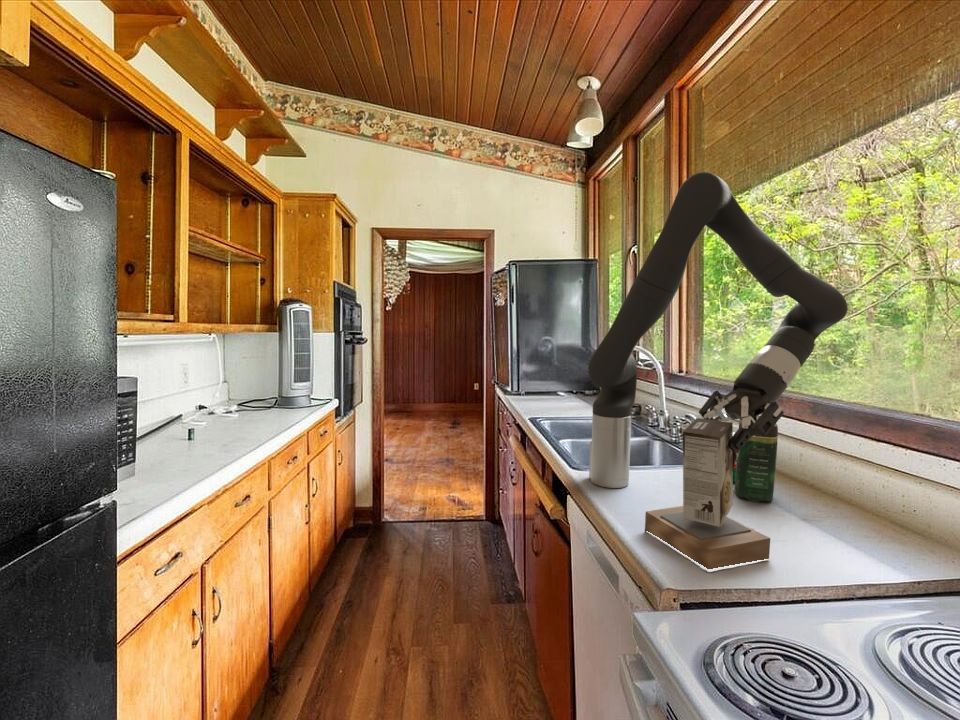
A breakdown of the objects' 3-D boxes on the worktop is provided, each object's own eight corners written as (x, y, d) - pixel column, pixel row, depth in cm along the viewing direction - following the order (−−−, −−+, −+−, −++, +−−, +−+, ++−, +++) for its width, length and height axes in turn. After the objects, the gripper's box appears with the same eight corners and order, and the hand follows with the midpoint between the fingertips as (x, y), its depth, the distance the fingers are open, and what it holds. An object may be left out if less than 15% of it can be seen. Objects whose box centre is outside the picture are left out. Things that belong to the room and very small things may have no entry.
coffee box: (696, 498, 93) (696, 417, 91) (733, 506, 89) (734, 421, 87) (681, 518, 86) (681, 430, 84) (721, 528, 82) (721, 435, 80)
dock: (644, 531, 94) (645, 509, 94) (698, 522, 98) (699, 501, 98) (708, 573, 79) (709, 547, 79) (768, 560, 83) (770, 536, 83)
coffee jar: (775, 505, 107) (781, 422, 106) (735, 499, 111) (740, 419, 109) (771, 491, 116) (776, 414, 114) (733, 486, 119) (738, 411, 118)
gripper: (725, 358, 96) (674, 421, 93) (793, 365, 82) (736, 439, 79) (744, 384, 98) (695, 446, 95) (814, 395, 84) (759, 467, 82)
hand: (714, 442), depth 87 cm, fingers closed on coffee box, 7 cm apart
